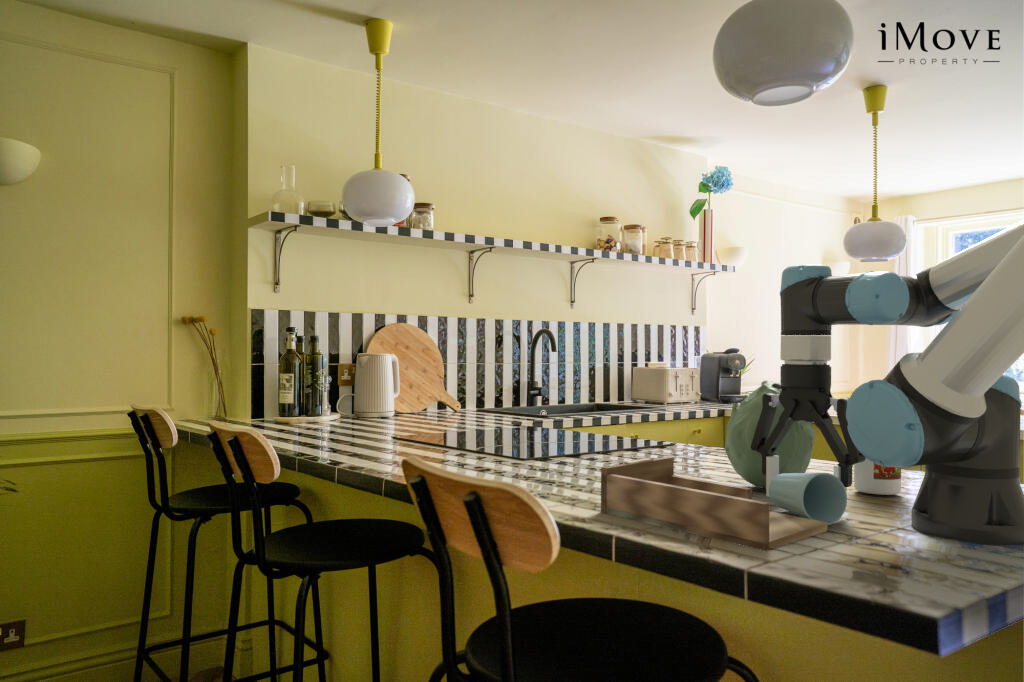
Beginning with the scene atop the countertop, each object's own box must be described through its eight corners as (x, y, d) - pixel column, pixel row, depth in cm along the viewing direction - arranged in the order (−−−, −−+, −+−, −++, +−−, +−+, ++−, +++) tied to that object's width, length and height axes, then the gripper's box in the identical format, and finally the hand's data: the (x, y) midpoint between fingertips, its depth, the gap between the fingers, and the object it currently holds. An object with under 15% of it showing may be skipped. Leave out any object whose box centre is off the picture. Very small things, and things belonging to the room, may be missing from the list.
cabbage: (709, 490, 135) (709, 381, 135) (746, 475, 149) (746, 378, 149) (796, 502, 125) (797, 385, 125) (827, 485, 140) (827, 380, 140)
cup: (813, 487, 119) (856, 495, 109) (786, 524, 118) (828, 536, 108) (780, 457, 118) (821, 462, 108) (753, 494, 117) (792, 503, 107)
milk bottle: (855, 493, 132) (855, 383, 132) (852, 486, 139) (853, 381, 139) (903, 497, 129) (903, 384, 129) (898, 489, 136) (898, 382, 136)
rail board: (827, 532, 105) (827, 478, 105) (764, 555, 93) (764, 494, 93) (667, 500, 126) (667, 454, 126) (600, 515, 115) (601, 465, 115)
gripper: (890, 364, 110) (890, 510, 110) (753, 360, 128) (752, 487, 128) (869, 365, 105) (868, 518, 105) (728, 361, 123) (728, 492, 123)
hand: (805, 501), depth 117 cm, fingers open, 10 cm apart
